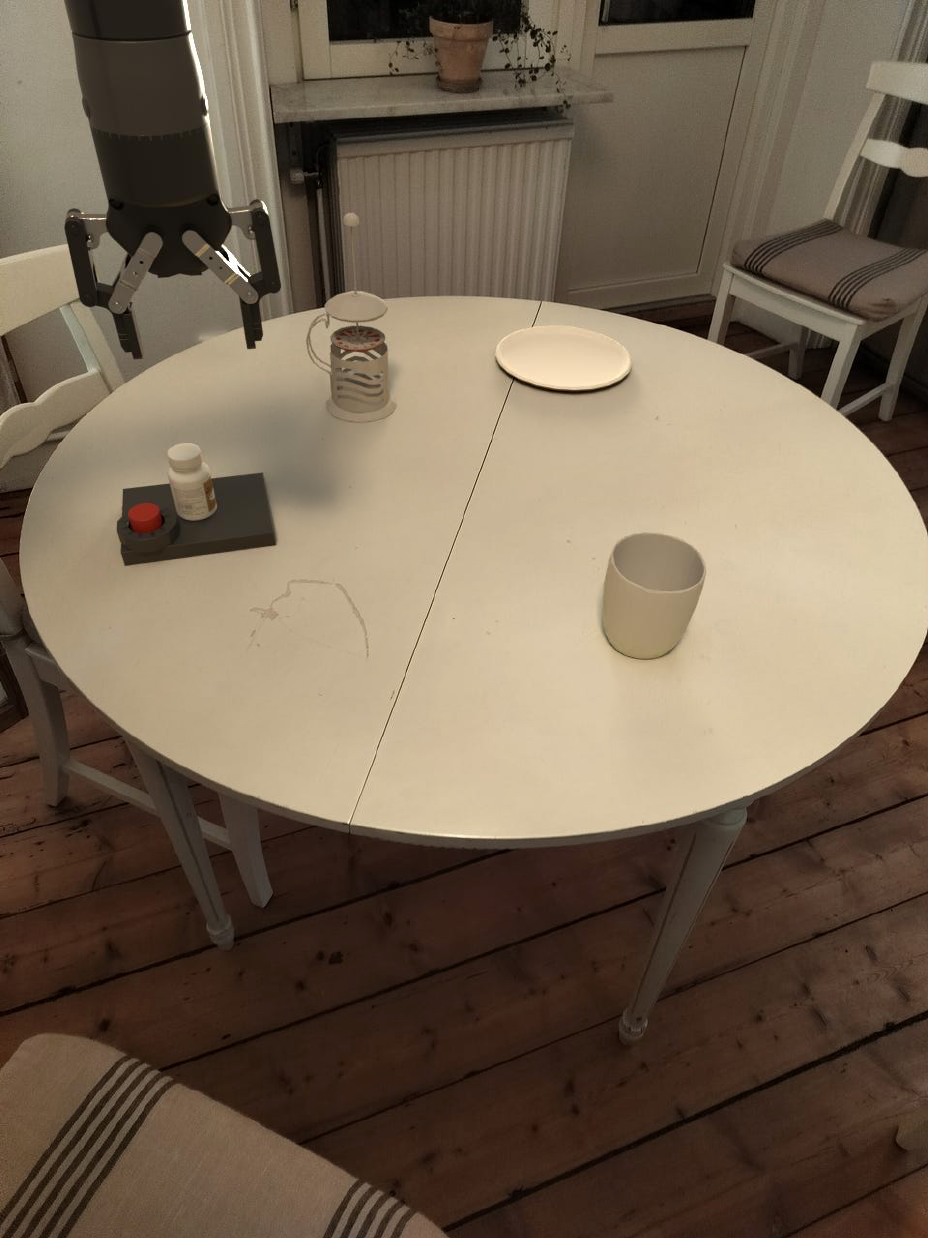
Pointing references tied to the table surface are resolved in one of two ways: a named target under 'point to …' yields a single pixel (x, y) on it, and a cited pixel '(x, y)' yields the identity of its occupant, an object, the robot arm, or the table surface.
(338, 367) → the french press
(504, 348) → the plate
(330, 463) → the table surface
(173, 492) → the pill bottle
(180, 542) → the black button box
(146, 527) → the button
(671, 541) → the mug
